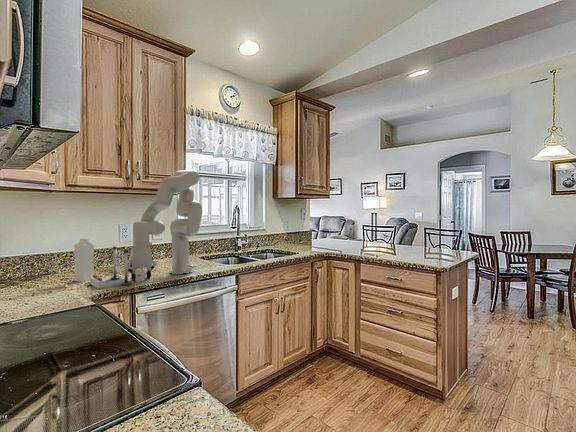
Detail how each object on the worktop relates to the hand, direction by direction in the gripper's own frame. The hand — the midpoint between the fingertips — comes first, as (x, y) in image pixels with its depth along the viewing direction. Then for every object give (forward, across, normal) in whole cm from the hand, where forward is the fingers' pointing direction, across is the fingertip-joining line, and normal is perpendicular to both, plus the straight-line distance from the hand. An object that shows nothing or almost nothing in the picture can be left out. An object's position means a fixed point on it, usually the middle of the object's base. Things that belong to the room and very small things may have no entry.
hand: (141, 279), depth 168 cm
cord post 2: (0, +10, +8) cm, 13 cm away
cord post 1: (0, +10, -8) cm, 13 cm away
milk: (+1, +22, -16) cm, 28 cm away
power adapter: (+1, 0, 0) cm, 1 cm away
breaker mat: (+1, +14, 0) cm, 15 cm away
